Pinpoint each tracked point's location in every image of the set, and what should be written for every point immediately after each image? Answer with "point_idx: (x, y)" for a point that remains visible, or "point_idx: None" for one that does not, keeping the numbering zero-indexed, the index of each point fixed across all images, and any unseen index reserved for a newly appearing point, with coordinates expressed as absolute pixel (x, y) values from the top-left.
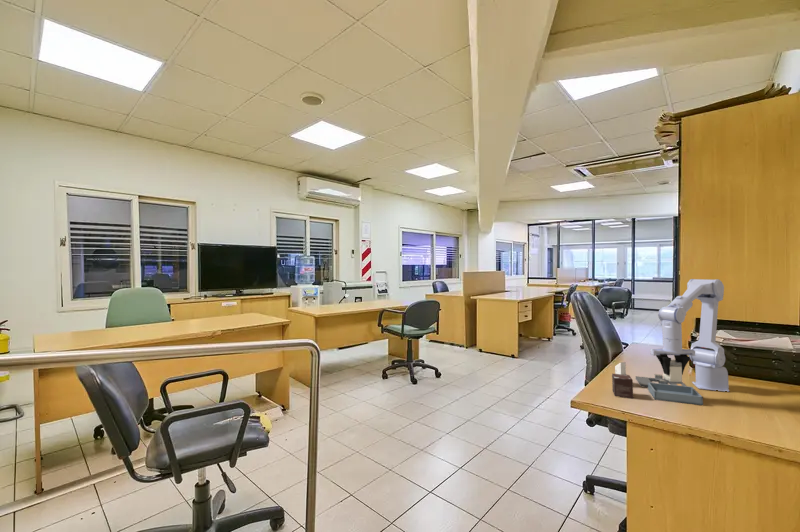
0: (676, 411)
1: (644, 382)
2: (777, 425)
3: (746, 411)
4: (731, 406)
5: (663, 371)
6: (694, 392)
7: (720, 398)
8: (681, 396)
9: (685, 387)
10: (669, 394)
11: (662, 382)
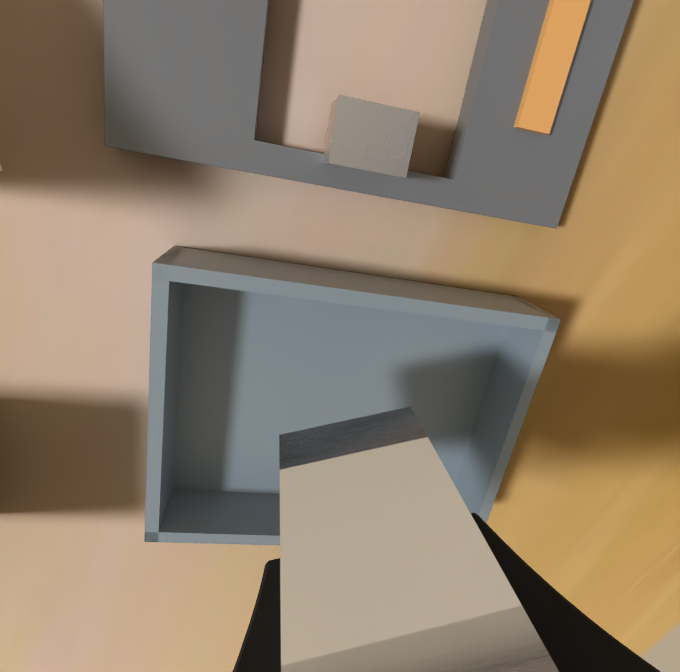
0: (240, 629)
1: (170, 51)
2: (625, 631)
3: (634, 516)
4: (615, 465)
5: (281, 524)
6: (503, 410)
7: (669, 330)
8: None
9: (497, 322)
10: (261, 538)
11: (349, 166)
